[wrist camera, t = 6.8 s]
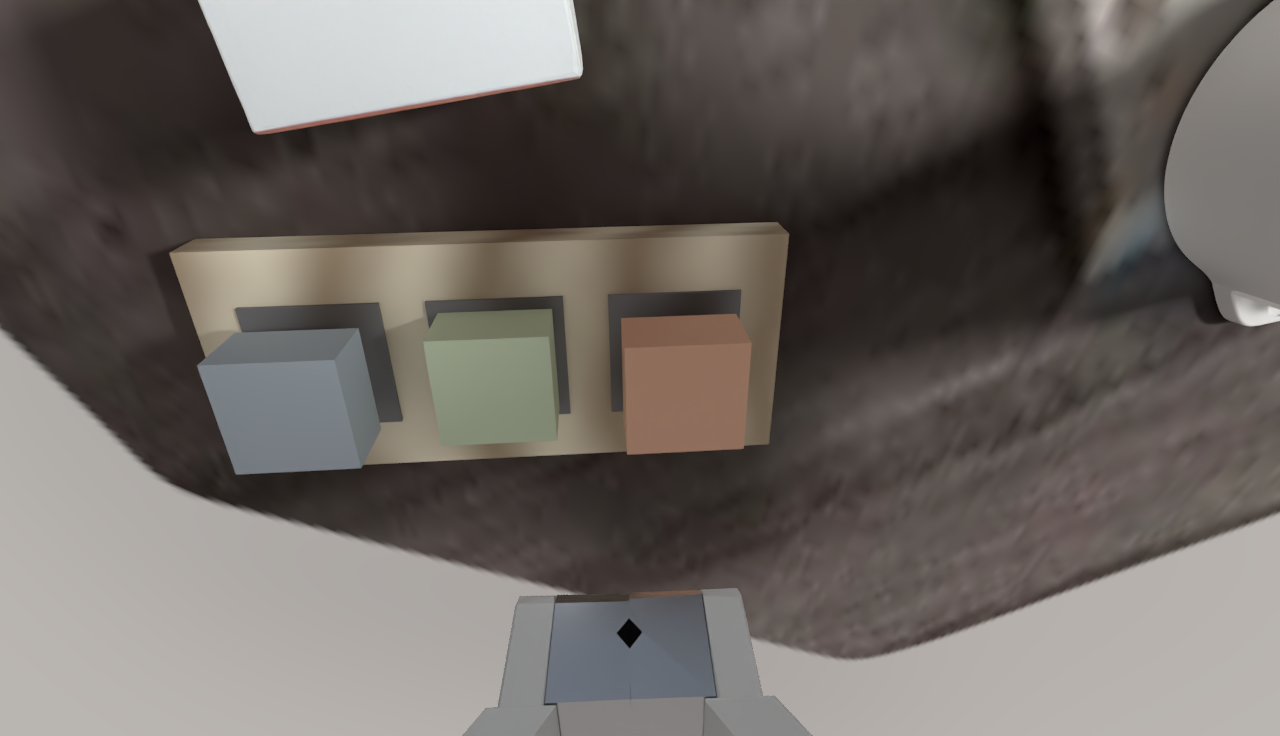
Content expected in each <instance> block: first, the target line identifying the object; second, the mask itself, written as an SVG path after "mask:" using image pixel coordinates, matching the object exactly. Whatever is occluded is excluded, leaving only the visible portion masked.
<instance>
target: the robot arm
mask: <svg viewBox="0 0 1280 736" xmlns="http://www.w3.org/2000/svg"><path fill="white" fill-rule="evenodd" d="M1164 203H1165V211H1166V216H1167V221H1168V225H1169V228H1170V231H1171V233H1172V235H1173V238H1174V240H1175V241H1176V243H1177V245H1178V247H1179V248H1180V249H1181V251H1182V252H1183V253H1184V255H1185V256H1186V257H1187V258H1188V259H1189V260H1190V261H1191V262H1193V263H1194V264H1195V265H1196V266H1197V267H1198V268H1200V269H1201V270H1202V271H1203V272H1204V273H1205V274H1206V275H1207V276H1208V277H1209V279H1210V280H1211V282H1212V285H1213V290H1214V294H1215V298H1216V302H1217V305H1218V308H1219V311H1220V313H1221V314H1222V316H1223V317H1224V318H1225V319H1227V320H1229V321H1232V322H1235V323H1238V324H1241V325H1244V326H1258V325H1263V324H1268V323H1272V322H1277V321H1280V0H1273V1H1272V2H1271V3H1270V4H1269V5H1268V6H1266V7H1265V8H1264V9H1263V10H1262V11H1261V12H1259V13H1258V14H1257V15H1256V16H1255V17H1254V18H1253V19H1252V20H1251V21H1250V22H1249V23H1248V24H1247V25H1246V26H1245V27H1244V28H1243V29H1242V30H1241V31H1240V32H1239V33H1238V34H1237V35H1236V36H1235V37H1234V38H1233V40H1232V41H1231V42H1230V43H1229V44H1228V45H1227V47H1226V48H1225V49H1224V50H1223V51H1222V53H1221V54H1220V55H1219V57H1218V58H1217V59H1216V60H1215V62H1214V63H1213V65H1212V66H1211V67H1210V69H1209V70H1208V72H1207V73H1206V75H1205V76H1204V78H1203V79H1202V81H1201V82H1200V84H1199V86H1198V87H1197V89H1196V91H1195V93H1194V94H1193V96H1192V98H1191V100H1190V102H1189V104H1188V106H1187V108H1186V110H1185V112H1184V114H1183V116H1182V118H1181V121H1180V123H1179V125H1178V128H1177V131H1176V133H1175V136H1174V139H1173V142H1172V146H1171V149H1170V153H1169V157H1168V162H1167V167H1166V173H1165V182H1164ZM463 736H812V735H811V734H810V733H809V732H808V731H807V729H806V728H805V727H804V726H803V725H802V724H801V723H800V722H799V721H798V720H797V719H796V718H795V717H794V716H793V715H792V714H791V713H790V712H789V710H788V709H787V708H786V707H785V706H784V705H783V704H782V703H781V702H780V701H779V700H778V699H777V698H776V697H775V696H763V693H762V689H761V685H760V680H759V675H758V671H757V666H756V662H755V657H754V652H753V648H752V643H751V638H750V634H749V629H748V624H747V620H746V615H745V611H744V606H743V601H742V597H741V593H740V592H739V591H738V589H737V588H729V589H707V590H701V592H700V590H681V591H662V592H642V593H629V594H601V595H557V596H520V597H519V600H518V602H517V604H516V606H515V612H514V617H513V622H512V628H511V634H510V639H509V645H508V651H507V657H506V663H505V668H504V674H503V679H502V686H501V691H500V697H499V703H498V707H494V708H486V709H485V710H484V711H483V712H482V713H481V714H480V716H479V717H478V718H477V719H476V720H475V721H474V723H473V724H472V725H471V726H470V727H469V728H468V730H467V731H466V732H465V733H464V734H463Z"/></svg>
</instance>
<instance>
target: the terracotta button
mask: <svg viewBox="0 0 1280 736" xmlns="http://www.w3.org/2000/svg"><path fill="white" fill-rule="evenodd" d="M621 338H622V379H623V418H624V428H625V438H626V448H627V455H632V454H652V453H671V452H691V451H711V450H730V449H744V439H745V426H746V412H747V399H748V386H749V373H750V360H751V346H752V343H751V341H750V339H749V337H748V335H747V333H746V331H745V329H744V328H743V326H742V324H741V322H740V320H739V318H738V316H737V314H716V315H690V316H663V317H637V318H621Z"/></svg>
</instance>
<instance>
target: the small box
mask: <svg viewBox="0 0 1280 736" xmlns="http://www.w3.org/2000/svg"><path fill="white" fill-rule="evenodd" d="M198 2H199V4H200V7H201V9H202V11H203V14H204V16H205V19H206V21H207V23H208V26H209V28H210V30H211V33H212V35H213V37H214V40H215V42H216V45H217V47H218V50H219V52H220V54H221V57H222V59H223V62H224V64H225V67H226V69H227V72H228V74H229V76H230V79H231V81H232V83H233V86H234V88H235V90H236V93H237V95H238V97H239V100H240V102H241V104H242V107H243V109H244V112H245V114H246V117H247V119H248V122H249V124H250V127H251V129H252V131H253V132H254V133H255V134H258V135H261V134H270V133H277V132H283V131H289V130H295V129H301V128H307V127H313V126H318V125H324V124H330V123H336V122H342V121H348V120H354V119H360V118H366V117H371V116H376V115H382V114H387V113H393V112H398V111H404V110H410V109H416V108H422V107H428V106H433V105H439V104H445V103H450V102H455V101H461V100H466V99H472V98H477V97H482V96H488V95H493V94H498V93H504V92H510V91H516V90H523V89H529V88H534V87H539V86H544V85H549V84H554V83H559V82H564V81H570V80H575V79H579V78H580V77H581V75H582V72H583V63H582V52H581V46H580V40H579V34H578V27H577V21H576V15H575V10H574V4H573V0H198Z"/></svg>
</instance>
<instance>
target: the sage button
mask: <svg viewBox="0 0 1280 736" xmlns="http://www.w3.org/2000/svg"><path fill="white" fill-rule="evenodd" d="M423 345H424V351H425V357H426V362H427V368H428V373H429V379H430V385H431V390H432V396H433V402H434V407H435V413H436V419H437V424H438V430H439V435H440V441H441V446H455V445H475V444H495V443H516V442H536V441H556V440H557V435H558V420H559V393H558V380H557V367H556V354H555V341H554V327H553V314H552V309H532V310H505V311H478V312H451V313H437V315H436V317H435V319H434V321H433V323H432V325H431V327H430V329H429V331H428V333H427V335H426V337H425V339H424V340H423Z"/></svg>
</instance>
